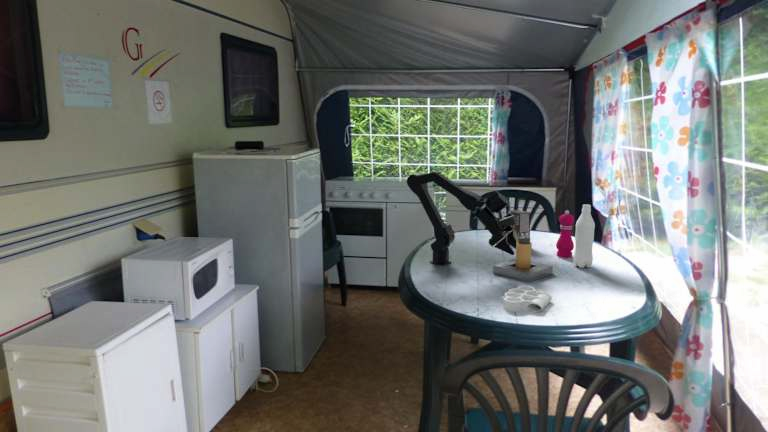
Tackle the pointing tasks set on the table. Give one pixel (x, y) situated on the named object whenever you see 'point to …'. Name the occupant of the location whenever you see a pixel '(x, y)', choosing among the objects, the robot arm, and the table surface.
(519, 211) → the coffee box
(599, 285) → the table surface
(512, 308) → the white flat lumpy part
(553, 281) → the table surface
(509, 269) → the grey square frame
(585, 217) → the water bottle
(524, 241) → the plug
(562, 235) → the pepper mill
